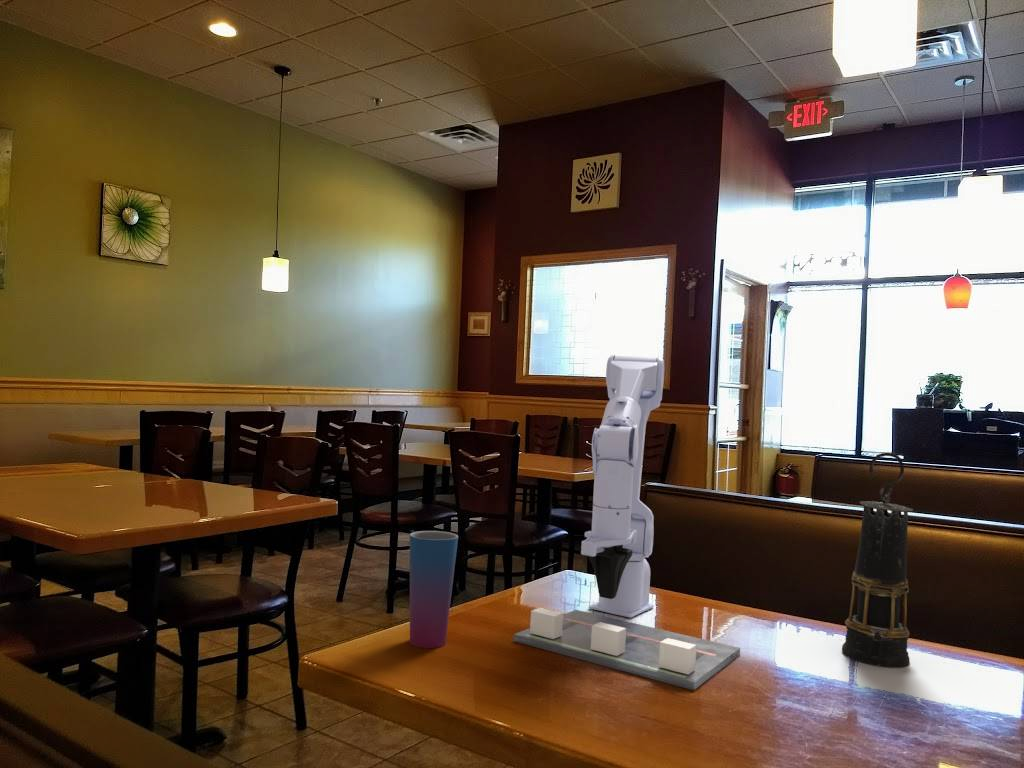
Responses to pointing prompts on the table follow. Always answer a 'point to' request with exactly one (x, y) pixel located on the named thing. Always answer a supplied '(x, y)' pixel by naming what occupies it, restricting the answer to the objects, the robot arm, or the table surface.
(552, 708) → the table surface
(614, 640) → the breaker mid
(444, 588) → the cup
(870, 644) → the lantern
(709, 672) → the panel
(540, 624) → the breaker
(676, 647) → the block
